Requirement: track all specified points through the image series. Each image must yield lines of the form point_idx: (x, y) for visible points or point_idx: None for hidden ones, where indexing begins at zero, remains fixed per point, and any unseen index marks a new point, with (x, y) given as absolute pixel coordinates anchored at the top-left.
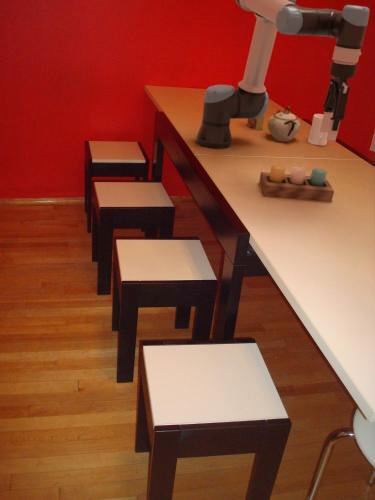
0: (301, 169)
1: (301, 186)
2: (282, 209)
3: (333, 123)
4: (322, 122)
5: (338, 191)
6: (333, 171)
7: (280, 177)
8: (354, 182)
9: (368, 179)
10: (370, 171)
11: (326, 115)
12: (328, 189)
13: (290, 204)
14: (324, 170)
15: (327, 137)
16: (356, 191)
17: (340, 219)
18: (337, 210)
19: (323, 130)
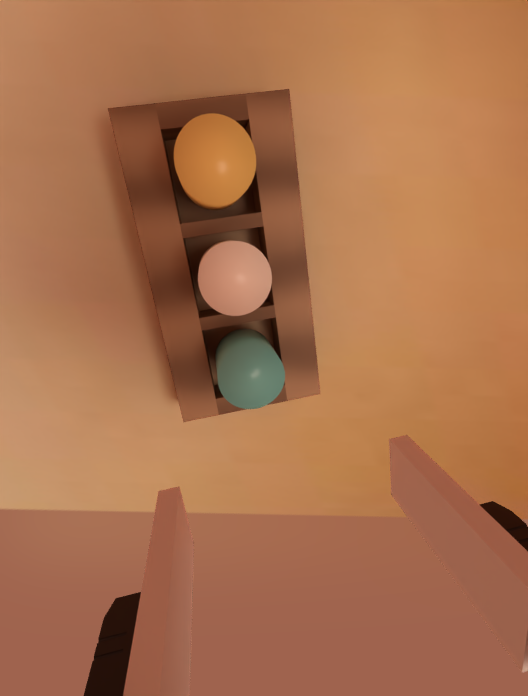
0: (237, 292)
1: (172, 293)
2: (12, 214)
3: (121, 678)
4: (448, 489)
5: (296, 425)
6: (479, 414)
7: (182, 186)
8: None
9: None
10: None
11: (497, 578)
12: (188, 401)
13: (86, 250)
14: (269, 399)
15: (163, 504)
16: (316, 478)
17: (36, 426)
18: (115, 418)
19: (397, 465)
